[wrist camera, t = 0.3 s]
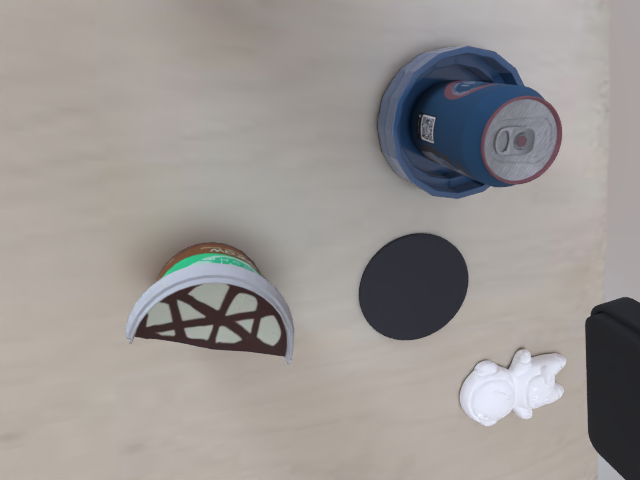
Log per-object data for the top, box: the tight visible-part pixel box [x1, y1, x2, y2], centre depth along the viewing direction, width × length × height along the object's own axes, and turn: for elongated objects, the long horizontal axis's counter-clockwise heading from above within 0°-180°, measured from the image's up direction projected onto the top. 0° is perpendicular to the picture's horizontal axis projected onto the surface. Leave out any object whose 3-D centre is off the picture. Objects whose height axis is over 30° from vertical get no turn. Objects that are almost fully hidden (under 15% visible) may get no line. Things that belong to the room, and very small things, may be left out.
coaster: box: [359, 234, 468, 340], centre depth 50 cm, size 11×11×1 cm
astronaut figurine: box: [460, 349, 566, 426], centre depth 55 cm, size 9×12×3 cm
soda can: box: [411, 80, 562, 187], centre depth 40 cm, size 7×7×12 cm
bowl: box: [377, 46, 524, 199], centre depth 44 cm, size 12×12×4 cm
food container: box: [125, 243, 294, 365], centre depth 41 cm, size 12×6×10 cm, turn 74°
